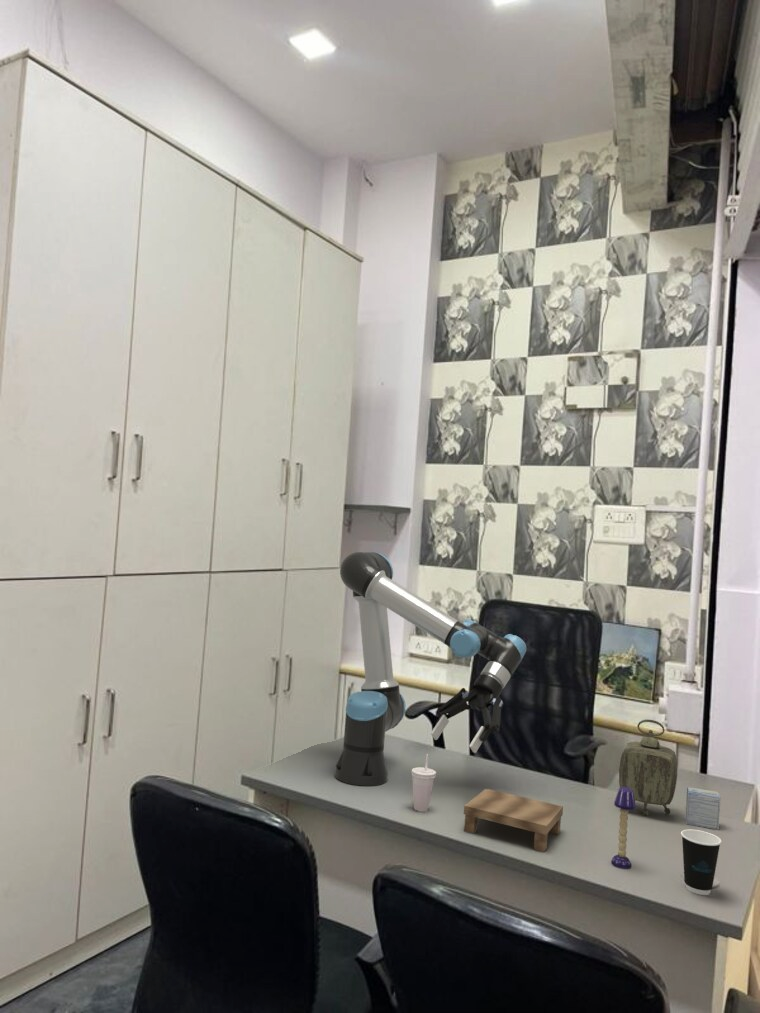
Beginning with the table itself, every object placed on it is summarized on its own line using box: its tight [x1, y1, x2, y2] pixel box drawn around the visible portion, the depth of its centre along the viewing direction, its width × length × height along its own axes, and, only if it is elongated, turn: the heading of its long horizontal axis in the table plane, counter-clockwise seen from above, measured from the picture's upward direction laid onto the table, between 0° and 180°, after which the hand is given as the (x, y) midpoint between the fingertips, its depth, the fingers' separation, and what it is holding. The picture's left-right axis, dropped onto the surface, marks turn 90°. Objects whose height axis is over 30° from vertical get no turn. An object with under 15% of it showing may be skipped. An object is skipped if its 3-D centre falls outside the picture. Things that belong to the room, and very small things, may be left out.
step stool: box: [463, 788, 564, 853], centre depth 181 cm, size 20×16×6 cm
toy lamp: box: [610, 786, 637, 869], centre depth 167 cm, size 5×5×17 cm
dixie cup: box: [680, 828, 723, 896], centre depth 157 cm, size 8×8×11 cm
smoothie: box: [410, 753, 437, 813], centre depth 191 cm, size 6×6×14 cm
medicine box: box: [685, 786, 721, 830], centre depth 197 cm, size 8×4×9 cm, turn 71°
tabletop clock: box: [618, 719, 678, 817], centre depth 202 cm, size 14×9×25 cm, turn 65°
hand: (452, 743), depth 198 cm, fingers open, 13 cm apart
